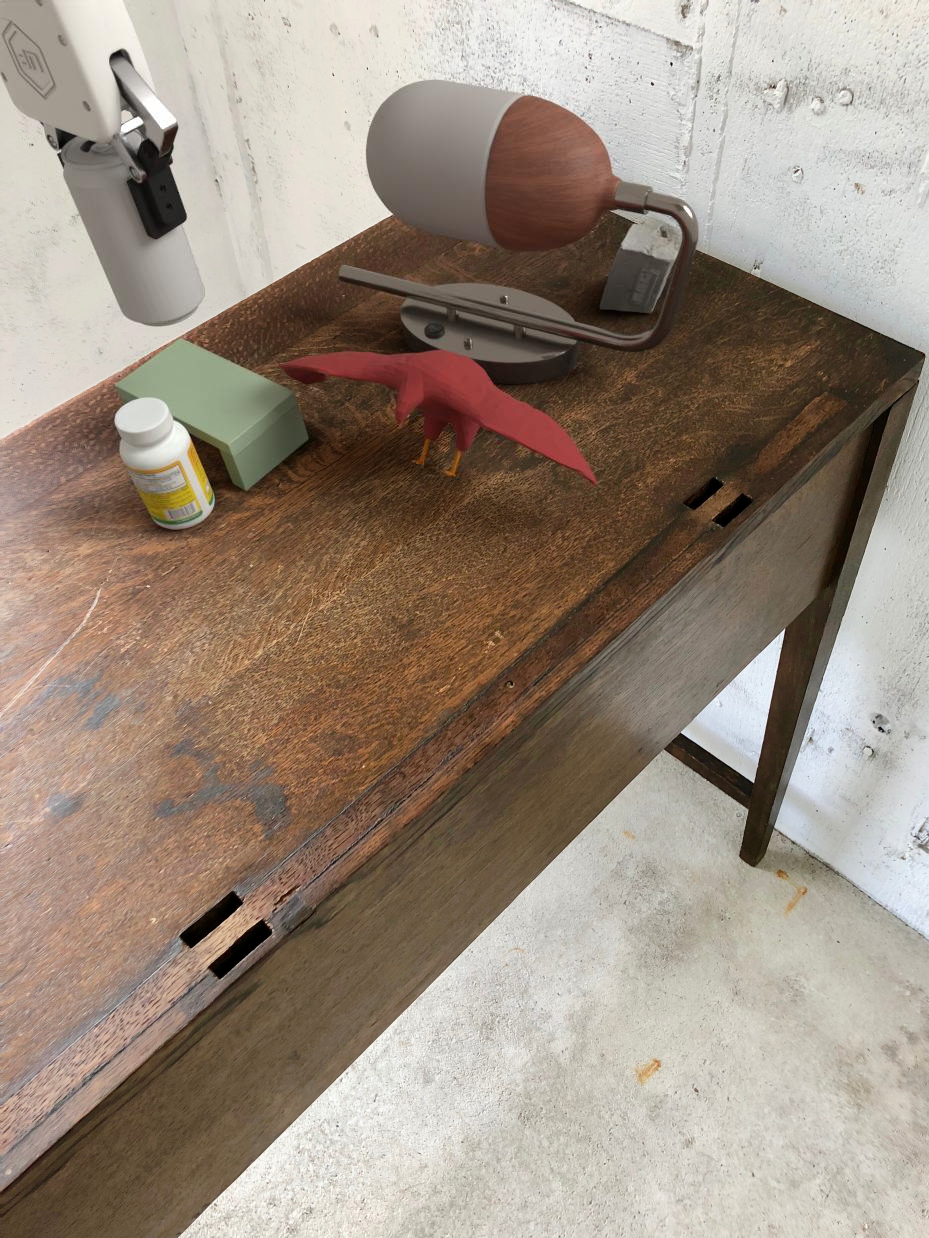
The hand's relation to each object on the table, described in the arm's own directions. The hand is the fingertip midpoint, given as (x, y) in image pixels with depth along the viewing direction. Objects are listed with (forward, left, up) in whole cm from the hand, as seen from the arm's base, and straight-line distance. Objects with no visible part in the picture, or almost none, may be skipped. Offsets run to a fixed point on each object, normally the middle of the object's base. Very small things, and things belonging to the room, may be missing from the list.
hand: (133, 213), depth 67 cm
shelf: (0, 0, -20) cm, 20 cm away
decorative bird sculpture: (+19, +9, -20) cm, 29 cm away
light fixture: (+14, +23, -20) cm, 34 cm away
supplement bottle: (+4, -8, -20) cm, 22 cm away
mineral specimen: (+21, +35, -20) cm, 46 cm away
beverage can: (0, 0, -7) cm, 7 cm away
